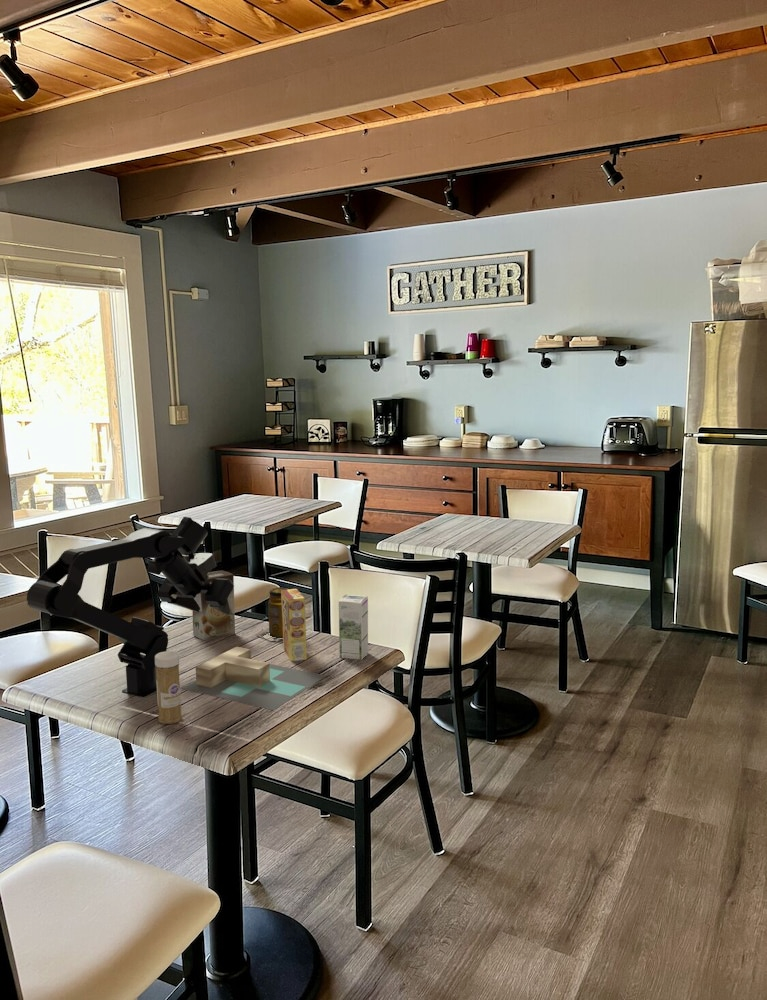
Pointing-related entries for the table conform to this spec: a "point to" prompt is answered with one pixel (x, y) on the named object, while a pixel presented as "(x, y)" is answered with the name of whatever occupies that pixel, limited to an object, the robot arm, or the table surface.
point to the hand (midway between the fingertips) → (213, 611)
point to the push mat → (263, 688)
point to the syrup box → (353, 626)
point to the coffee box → (214, 613)
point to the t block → (233, 669)
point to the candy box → (294, 624)
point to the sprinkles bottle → (168, 687)
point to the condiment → (275, 614)
